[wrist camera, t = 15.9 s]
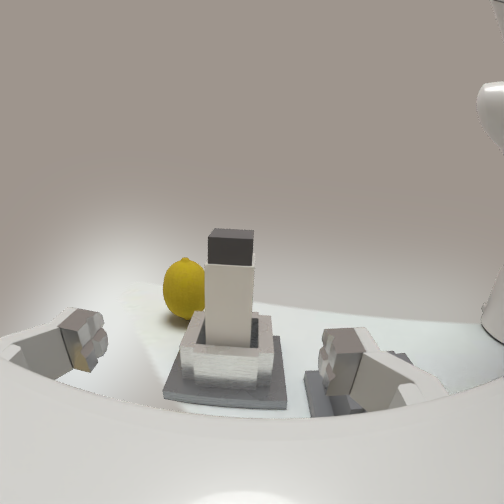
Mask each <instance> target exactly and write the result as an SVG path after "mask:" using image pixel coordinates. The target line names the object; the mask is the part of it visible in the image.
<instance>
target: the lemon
mask: <svg viewBox="0 0 504 504" xmlns="http://www.w3.org/2000/svg"><path fill="white" fill-rule="evenodd" d="M163 296H164V300H165V303H166V305H167V307H168V308H169V310H170V311H171V312H172V313H174V314H175V315H177V316H179V317H182V318H184V319H185V320H190V319H191V318H192V316H193V314H194V311H203V310H204V308H205V271H204V270H203V268H202V267H201V266H200V265H198V264H197V263H196V262H194V261H191V260H189V259H188V258H182V259H181V260H180V261H178V262H175V263H174V264H173V265H171V266H170V268H169V269H168V270H167V272H166V274H165V277H164V283H163Z"/></svg>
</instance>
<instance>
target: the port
mask: <svg viewBox="0 0 504 504" xmlns="http://www.w3.org/2000/svg"><path fill="white" fill-rule="evenodd" d="M179 347H180V350H179V352H178V354H177V357H176V359H175V362H174V364H173V366H172V369H171V371H170V374H169V376H168V379H167V381H166V384H165V386H164V389H163V395H164V399H168V400H174V401H181V402H188V403H195V404H204V405H213V406H224V407H237V408H256V409H286V405H287V394H286V385H285V377H284V368H283V360H282V352H281V344H280V336H273V334H272V322H271V316H264V315H258V312H252V320H251V337H250V348H242V347H228V346H215V345H206V331H205V312H203V311H194V314H193V316H192V318H191V321H190V323H189V325H188V327H187V330H186V332H185V334H184V337H183V339H182V341H181V344H180V346H179Z"/></svg>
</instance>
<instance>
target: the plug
mask: <svg viewBox="0 0 504 504" xmlns="http://www.w3.org/2000/svg"><path fill="white" fill-rule="evenodd" d="M253 235H254V230H237V229H216V228H215V229H214V230H213V231H212V233H211V234H210V235H209V237H208V259H207V261H206V263H205V331H206V345H215V346H228V347H242V348H250V337H251V320H252V303H253V285H254V269H255V254H254V253H253V237H254V236H253Z"/></svg>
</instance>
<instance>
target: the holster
mask: <svg viewBox="0 0 504 504" xmlns="http://www.w3.org/2000/svg"><path fill="white" fill-rule="evenodd" d="M386 352H388V353H390V354H392V355H394V356H396V357H398V358H400V359H402V360H404V361H406V362H408V363H410V364H412V362H411V361H410V359H409V358H408V357H407V355H406V354H405V353H400V354H395V352H394V351H386ZM412 365H413V364H412ZM323 378H324V377H322V376H321V375H320V373H319V371H305V376H304V382H305V387H306V392H307V397H308V402H309V407H310V412H311V417H312V418H316V417H330V416H342V415H351V414H359V413H367V411H366V410H365V409H364V408H363V407H361V406H360V405H359V404H358V403H357V402H356V401H355V400H353V399H352V398H351V397H350V396H349V395H339V396H326V395H325V391H324V388H323V384H322V382H323Z"/></svg>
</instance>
